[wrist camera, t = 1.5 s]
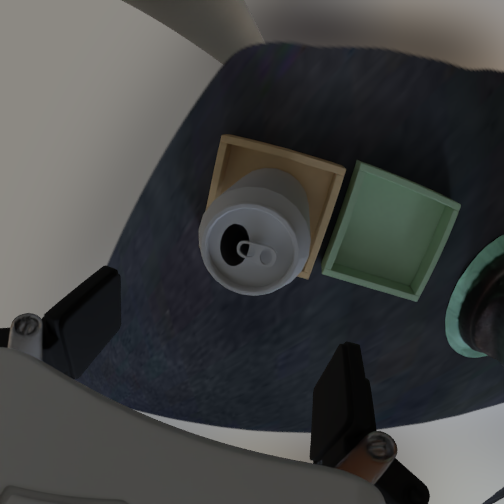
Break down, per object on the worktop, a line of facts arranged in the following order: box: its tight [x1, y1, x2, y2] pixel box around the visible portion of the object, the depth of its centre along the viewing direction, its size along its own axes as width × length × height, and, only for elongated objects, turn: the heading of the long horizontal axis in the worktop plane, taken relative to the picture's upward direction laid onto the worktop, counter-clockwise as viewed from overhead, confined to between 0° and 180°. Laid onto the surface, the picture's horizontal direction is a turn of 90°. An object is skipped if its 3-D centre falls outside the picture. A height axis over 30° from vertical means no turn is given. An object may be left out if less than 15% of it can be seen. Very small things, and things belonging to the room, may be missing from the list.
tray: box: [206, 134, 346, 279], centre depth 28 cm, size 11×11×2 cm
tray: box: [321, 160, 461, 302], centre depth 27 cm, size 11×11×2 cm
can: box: [199, 168, 311, 296], centre depth 23 cm, size 8×8×12 cm
